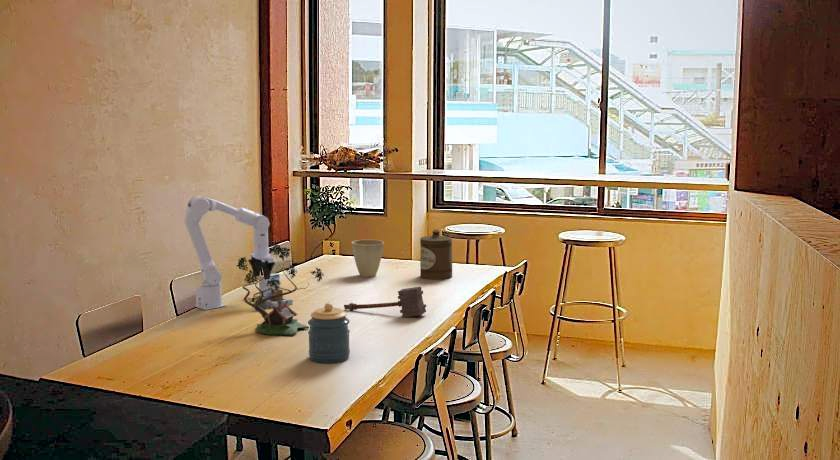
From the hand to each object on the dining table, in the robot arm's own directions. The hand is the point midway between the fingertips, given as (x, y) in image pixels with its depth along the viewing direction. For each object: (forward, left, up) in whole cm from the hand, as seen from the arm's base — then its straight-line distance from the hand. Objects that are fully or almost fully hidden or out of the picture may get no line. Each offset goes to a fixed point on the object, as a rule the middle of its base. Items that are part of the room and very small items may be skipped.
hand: (261, 277), depth 345 cm
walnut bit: (+1, -8, -10) cm, 13 cm away
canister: (-27, -81, -10) cm, 86 cm away
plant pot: (+65, +11, -10) cm, 66 cm away
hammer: (+23, -49, -10) cm, 55 cm away
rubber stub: (-7, -11, -10) cm, 16 cm away
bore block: (+1, -8, -10) cm, 13 cm away
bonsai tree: (-21, -47, -10) cm, 52 cm away
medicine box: (+9, +8, -10) cm, 16 cm away
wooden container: (+87, -12, -10) cm, 88 cm away
